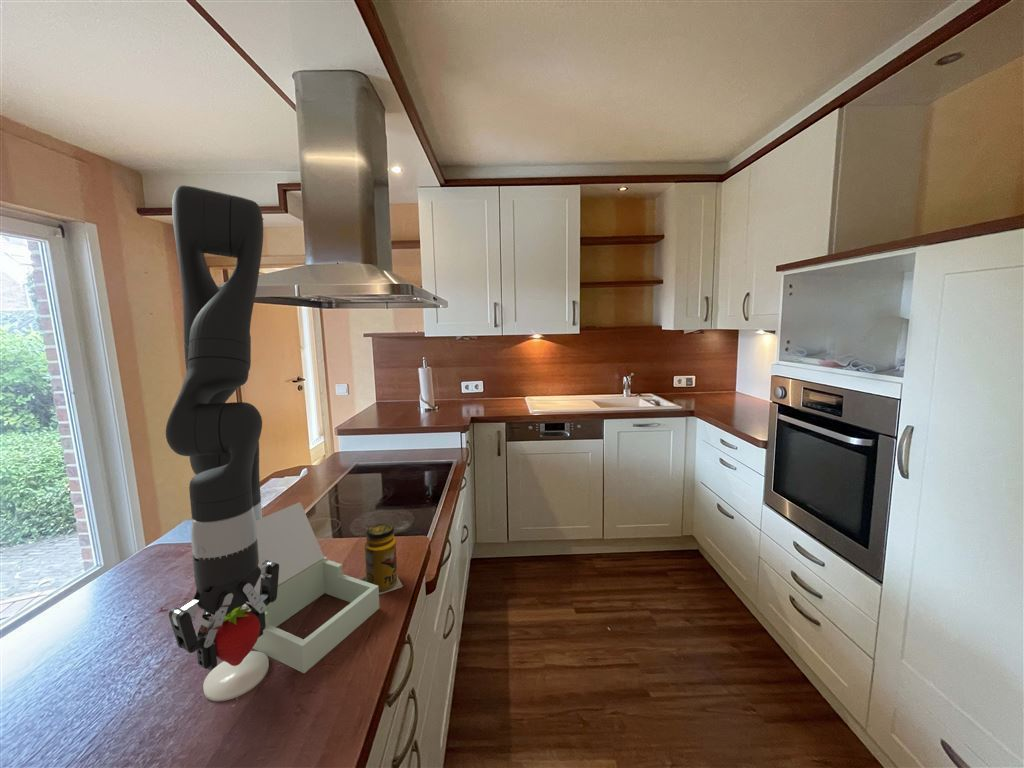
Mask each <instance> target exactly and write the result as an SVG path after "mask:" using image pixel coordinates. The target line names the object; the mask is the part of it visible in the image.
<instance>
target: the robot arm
mask: <svg viewBox="0 0 1024 768" xmlns="http://www.w3.org/2000/svg"><path fill="white" fill-rule="evenodd" d="M171 209H172V210H171V214H172V224H173V233H174V239H175V248H176V255H177V261H178V268H179V276H180V283H181V290H182V293H181V294H182V310H183V311H182V314H183V321H182V323H183V348H184V361H185V370H186V374H185V377H184V380H183V383H182V385H181V388H180V391H179V394H178V395H177V398H176V401H175V403H174V405H173V407H172V408H171V411H170V414H169V416H168V419H167V421H166V422H167V423H166V427H165V438H166V442H167V444H168V446H169V448H170V449H171V450H172V451H173V452H174V453H176V454H177V455H180V456H182V457H189V463H190V467H191V469H192V471H193V473H194V474H195V475H194V476H193V477H191V480H190V481H189V487H188V488H189V490H188V491H189V500H190V501H189V502H190V510H191V527H190V528H191V529H190V540H191V551H192V552H191V553H192V565H193V575H194V583H195V587H196V590H195V593H194V596H193V599H192V600H191V601H190V602H188V603H187V604H185V605H184V606H182V607H181V608H180V607H178V606H177V607H173V608H172V609H171V610H170V611H169V612H168V618H169V622H170V625H171V628H172V630H173V631H172V632H173V634H174V637H175V641H176V644H177V647H178V648H180V649H183V650H184V651H186V652H187V653H190V654H192V653H195V652H196V655H197V658H196V659H197V664H198V665H199V667H201V668H203V669H205V670H209V671H212V670H213V669H214V668H215V667H217V665H218V659H217V658H218V657H217V656H216V644H215V643H214V642H213V641H214V638H215V636H216V633H217V630H218V628H220V627H221V626H222V623H223V620H224V618H225V615H227V614H229V613H230V612H231V611H233V610H234V609H235V608H238V607H241V606H242V605H244V604H246V606H247V607H248V608H251V611H249V612H250V613H252V614H254V615H256V616H257V617H258V620H259V623H260V626H261V628H260V632H259V636H258V638H259V637H260V636H262V635H263V630H264V629H265V626H266V624H265V610H266V606H267V605H268V604H269V603H270V602H274V601H275V600H276V598H277V590H278V576H279V564H277V563H274V562H271V561H268V560H266V561H264V562H263V564H262V565H261V566H258V564H259V557H258V542H257V527H256V520H258V519H261V518H263V512H262V511H263V510H262V496H261V481H260V480H261V478H260V437H261V435H262V429H263V418H262V415H261V413H260V411H259V410H258V409H257V408H256V406H254V405H253V404H251V403H249V402H243V401H241V402H239V401H238V402H237V401H236V402H227V400H229V398H230V397H231V396H232V395H233V394H234V393H235V391H237V389H238V388H239V387H242V386H243V385H245V384H246V383H247V381H248V380H249V373H250V371H251V364H252V363H251V362H252V360H251V359H252V358H251V355H252V352H251V351H252V350H251V349H252V345H251V344H252V343H251V341H252V340H251V323H252V317H253V316H252V315H253V310H254V309H253V308H254V304H255V300H256V294H257V289H258V283H259V274H260V269H261V263H262V256H263V254H262V253H263V246H264V245H263V244H264V243H263V242H264V220H263V213H262V209H261V207H260V206H259V204H258V203H257V202H256V201H254V200H252V199H249V198H246V197H242V196H239V195H234V194H233V195H232V194H229V193H224V192H221V191H216V190H210V189H207V188H201V187H196V186H192V185H187V184H186V185H185V184H183V185H179V186H177V187H176V188H175V190H174V192H173V196H172V205H171ZM205 254H208V255H214V256H221V257H228V258H233V259H236V263H235V267H234V269H233V271H232V273H231V275H230V277H228V279H227V281H226V282H225V283H224V285H222V287H220V288H219V287H218V285H217V284H216V282H215V280H214V278H213V276H212V273H211V272H210V270H209V267H208V264H207V261H206V257H205ZM259 577H261V584H260V596H259V594H258V593H257V592H256V591H255V590H254V587H255V585H256V583H257V581H258V579H259ZM241 608H242V607H241ZM198 609H201V611H200V614H199V615H198V619H197V624H198V625H197V628H196V631H195V626H194V623H193V622H194V621H195V620H196V613H197V610H198ZM212 615H213V616H212Z"/></svg>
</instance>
